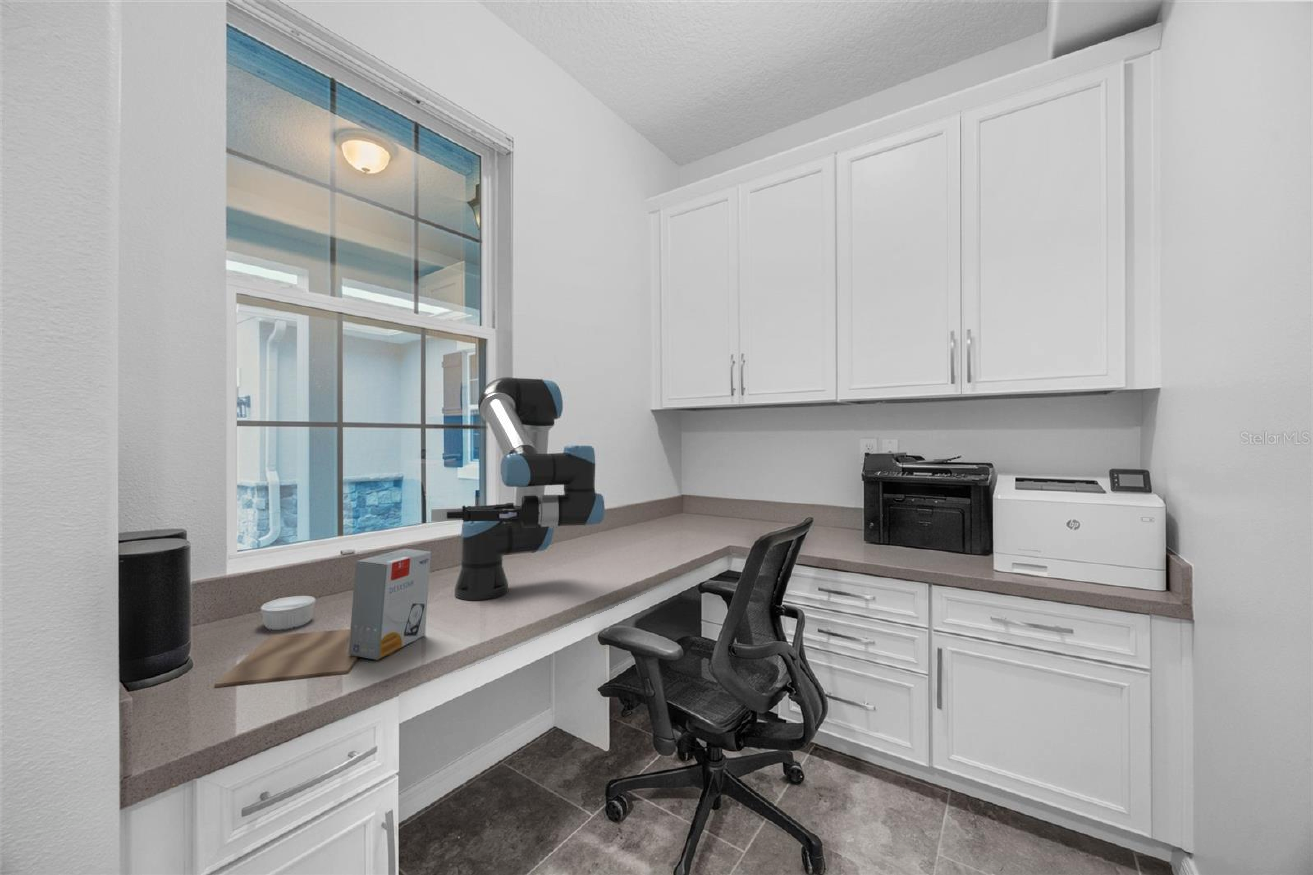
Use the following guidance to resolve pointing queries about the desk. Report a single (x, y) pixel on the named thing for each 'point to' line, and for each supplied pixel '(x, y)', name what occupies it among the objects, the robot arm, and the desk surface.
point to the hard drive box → (389, 602)
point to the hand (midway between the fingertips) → (431, 514)
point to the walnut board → (294, 658)
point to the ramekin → (288, 612)
